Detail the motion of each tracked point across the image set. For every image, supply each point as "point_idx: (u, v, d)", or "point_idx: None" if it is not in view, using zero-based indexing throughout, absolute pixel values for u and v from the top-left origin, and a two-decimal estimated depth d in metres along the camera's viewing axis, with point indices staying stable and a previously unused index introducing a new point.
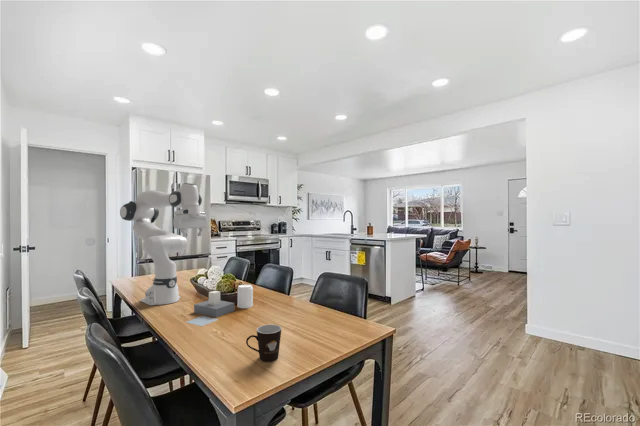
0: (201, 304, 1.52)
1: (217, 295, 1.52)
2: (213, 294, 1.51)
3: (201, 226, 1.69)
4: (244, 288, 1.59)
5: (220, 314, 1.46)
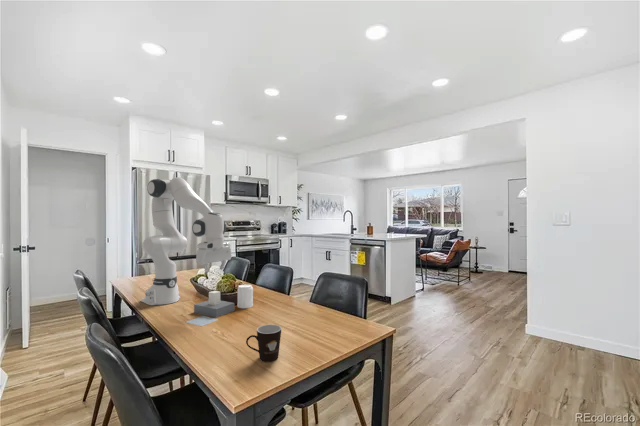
0: (201, 304, 1.52)
1: (217, 295, 1.52)
2: (213, 294, 1.51)
3: (224, 259, 1.57)
4: (244, 288, 1.59)
5: (220, 314, 1.46)
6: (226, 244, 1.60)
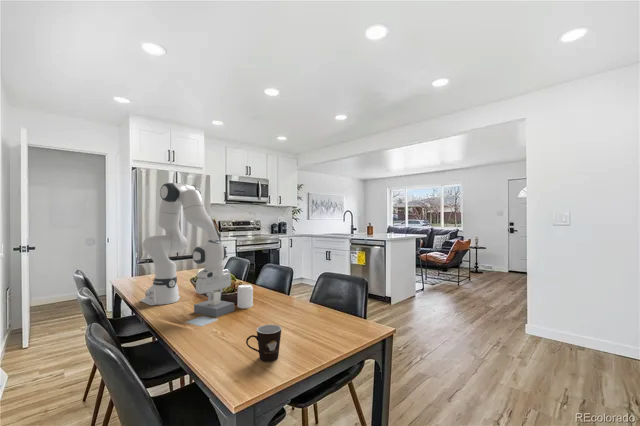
0: (201, 304, 1.52)
1: (217, 295, 1.52)
2: (213, 294, 1.51)
3: (224, 286, 1.57)
4: (244, 288, 1.59)
5: (220, 314, 1.46)
6: (226, 271, 1.60)
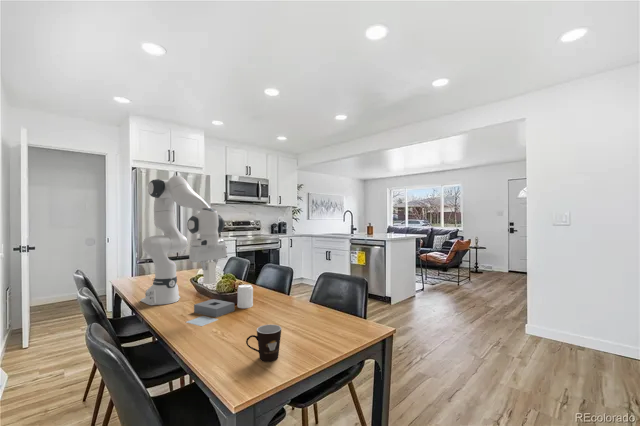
0: (201, 304, 1.52)
1: (212, 265, 1.45)
2: (208, 264, 1.43)
3: (219, 257, 1.49)
4: (244, 288, 1.59)
5: (220, 314, 1.46)
6: (221, 241, 1.53)
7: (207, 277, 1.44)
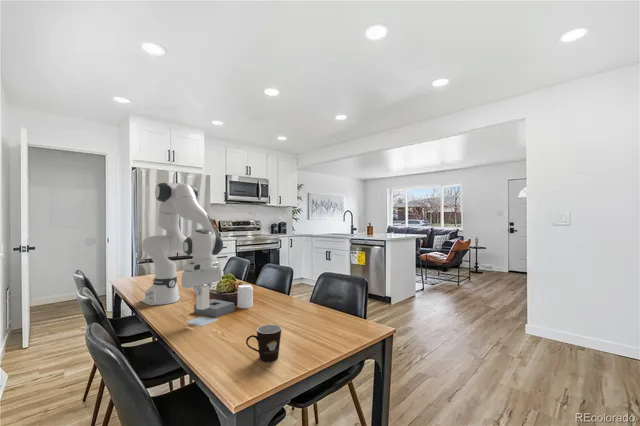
0: None
1: (205, 289, 1.38)
2: (201, 289, 1.37)
3: (213, 280, 1.43)
4: (244, 288, 1.59)
5: (220, 314, 1.46)
6: (216, 264, 1.46)
7: (200, 302, 1.37)
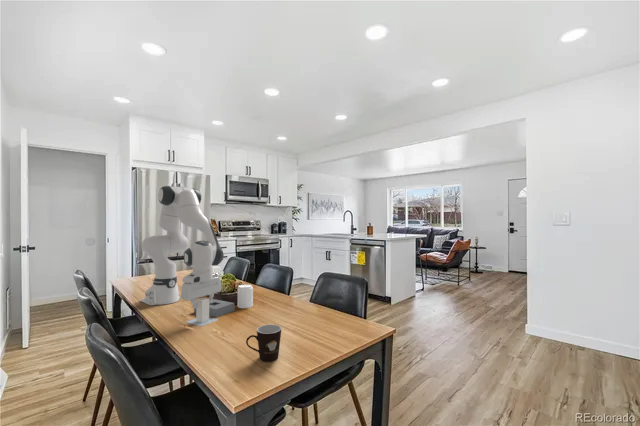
0: None
1: (205, 302, 1.38)
2: (201, 302, 1.37)
3: (213, 292, 1.43)
4: (244, 288, 1.59)
5: (220, 314, 1.46)
6: (215, 275, 1.46)
7: (199, 315, 1.37)
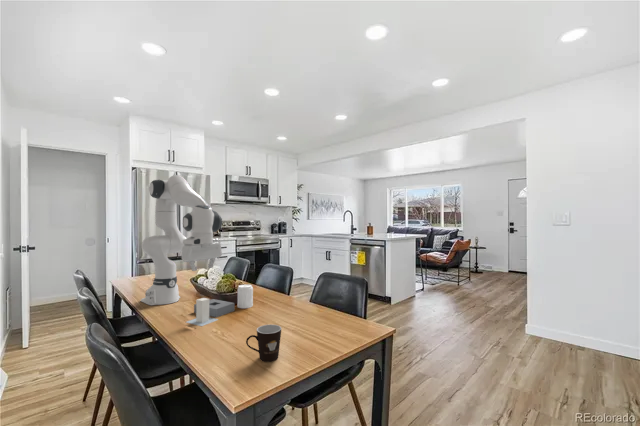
0: None
1: (205, 302, 1.38)
2: (201, 302, 1.37)
3: (213, 256, 1.43)
4: (244, 288, 1.59)
5: (220, 314, 1.46)
6: (216, 240, 1.46)
7: (199, 315, 1.37)
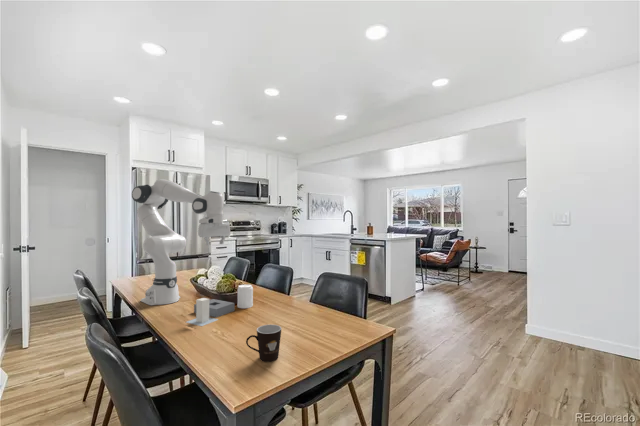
0: None
1: (205, 302, 1.38)
2: (201, 302, 1.37)
3: (224, 234, 1.71)
4: (244, 288, 1.59)
5: (220, 314, 1.46)
6: (225, 221, 1.74)
7: (199, 315, 1.37)
